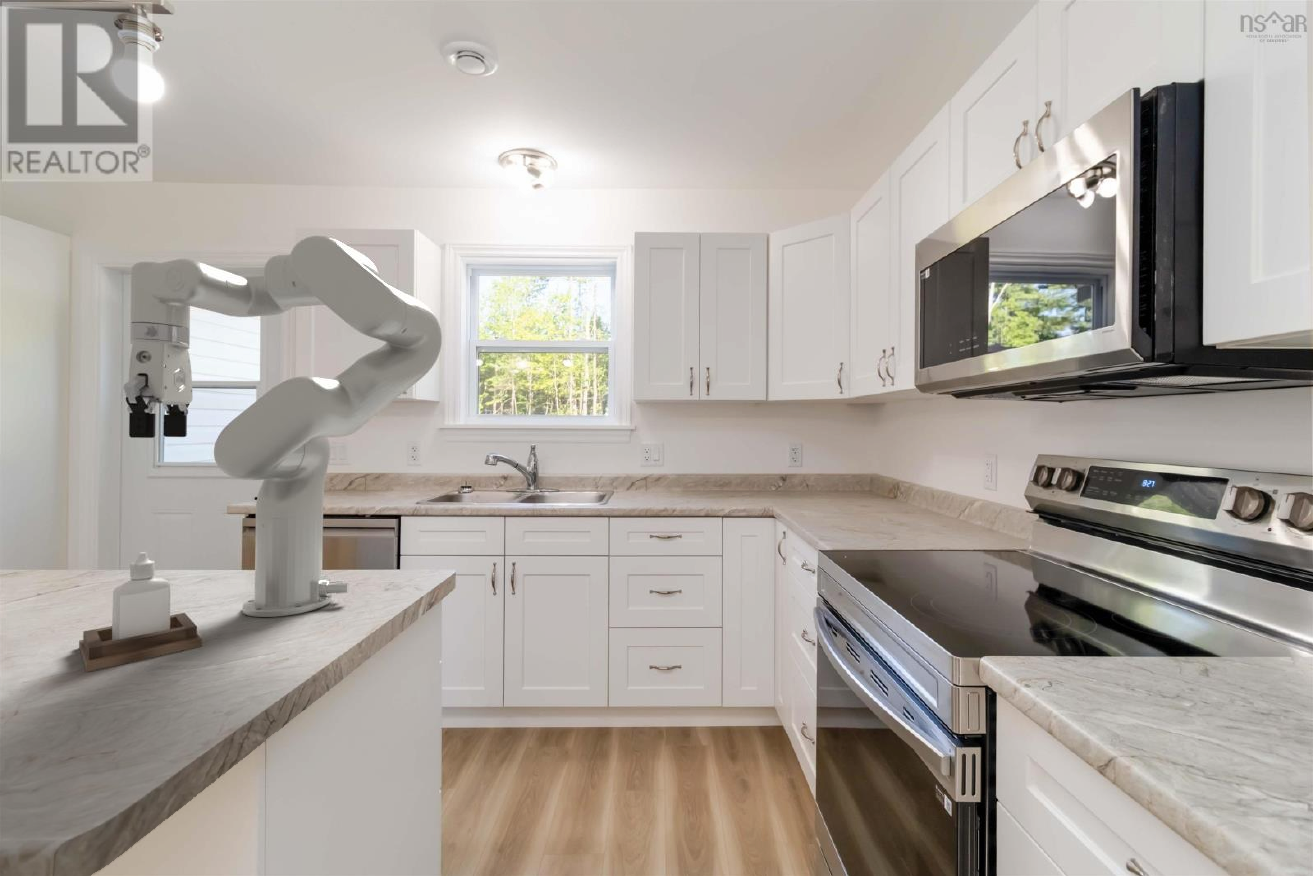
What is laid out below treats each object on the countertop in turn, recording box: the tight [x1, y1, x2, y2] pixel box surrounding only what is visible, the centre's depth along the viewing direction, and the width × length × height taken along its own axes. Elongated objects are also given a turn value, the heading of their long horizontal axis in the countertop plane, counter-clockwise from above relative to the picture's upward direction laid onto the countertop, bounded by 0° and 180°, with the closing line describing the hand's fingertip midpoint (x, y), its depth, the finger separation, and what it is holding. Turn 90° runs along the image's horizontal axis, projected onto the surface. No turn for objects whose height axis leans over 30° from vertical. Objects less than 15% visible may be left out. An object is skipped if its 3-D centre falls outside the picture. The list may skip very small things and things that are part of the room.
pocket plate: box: [78, 612, 203, 673], centre depth 74 cm, size 11×11×2 cm
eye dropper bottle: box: [111, 551, 171, 641], centre depth 74 cm, size 4×6×12 cm
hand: (159, 437), depth 93 cm, fingers open, 9 cm apart
